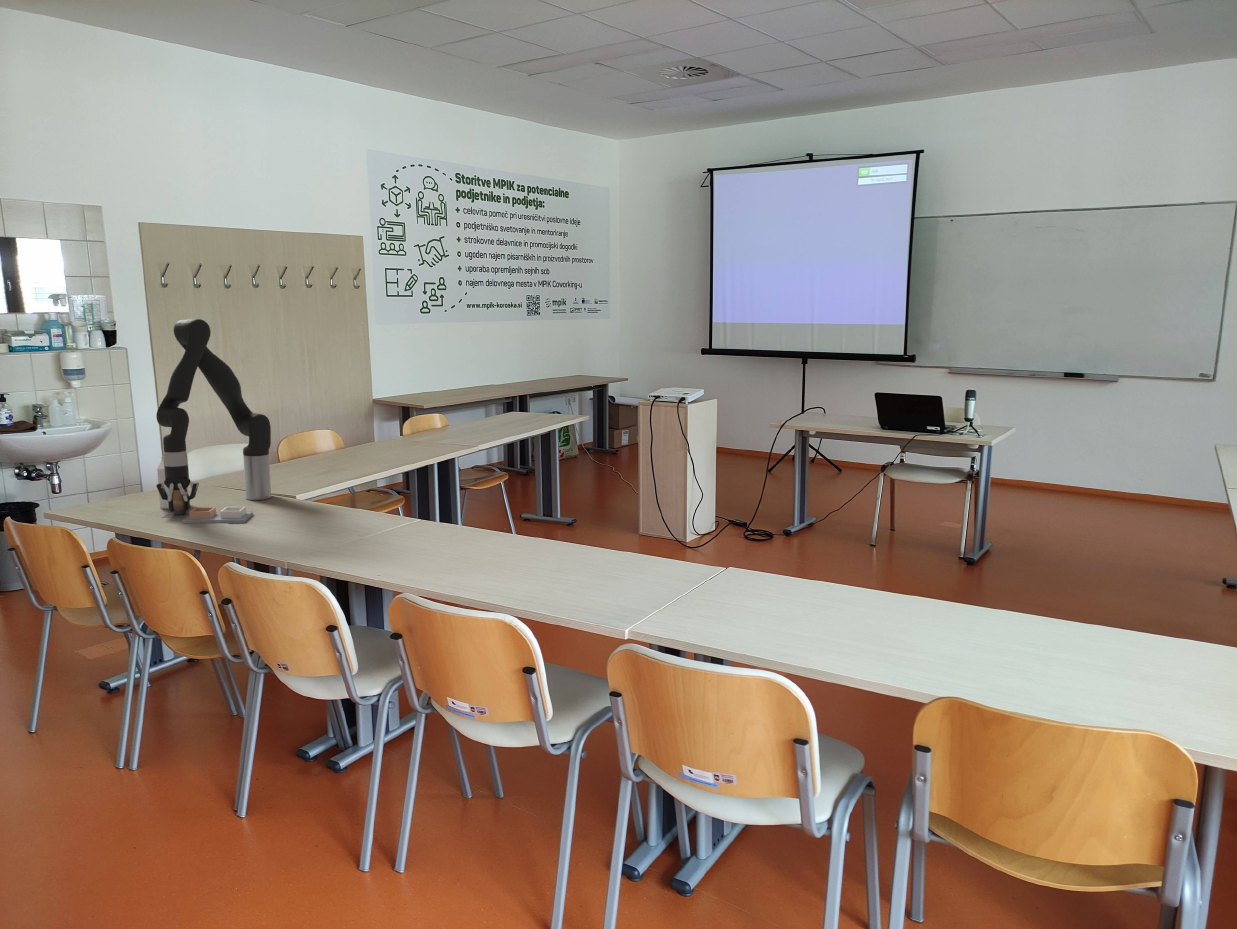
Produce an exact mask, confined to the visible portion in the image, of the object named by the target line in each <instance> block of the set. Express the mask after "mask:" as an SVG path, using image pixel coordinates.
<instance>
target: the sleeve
mask: <svg viewBox="0 0 1237 929" xmlns="http://www.w3.org/2000/svg"><path fill="white" fill-rule="evenodd" d="M172 499H173V512H174V515H176V516H180V515H185V514H186V511H184V498H183V496H182V494H181V492H180V490H173V493H172Z"/></svg>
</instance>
